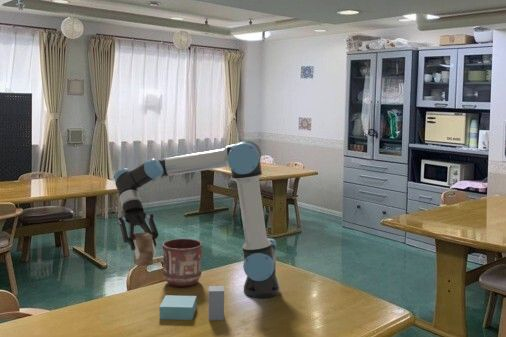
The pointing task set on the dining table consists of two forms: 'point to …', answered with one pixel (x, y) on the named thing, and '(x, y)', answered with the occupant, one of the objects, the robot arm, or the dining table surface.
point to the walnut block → (144, 249)
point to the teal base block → (178, 307)
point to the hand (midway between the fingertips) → (146, 255)
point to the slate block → (216, 302)
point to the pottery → (182, 262)
